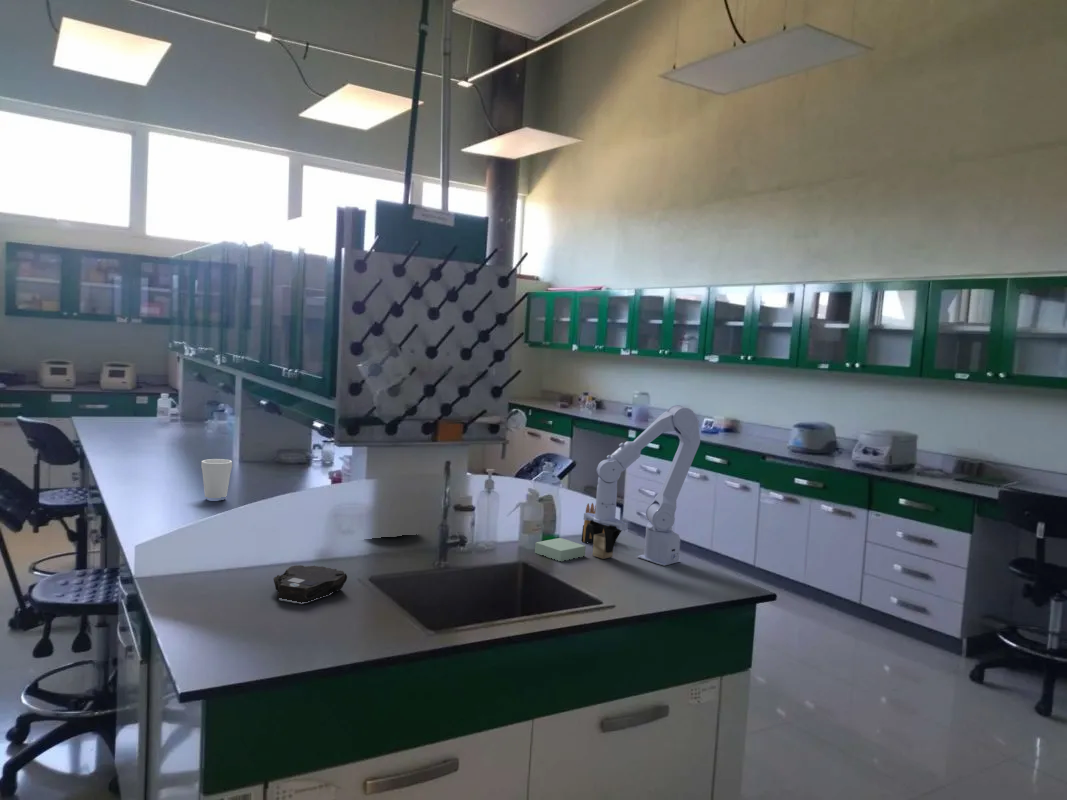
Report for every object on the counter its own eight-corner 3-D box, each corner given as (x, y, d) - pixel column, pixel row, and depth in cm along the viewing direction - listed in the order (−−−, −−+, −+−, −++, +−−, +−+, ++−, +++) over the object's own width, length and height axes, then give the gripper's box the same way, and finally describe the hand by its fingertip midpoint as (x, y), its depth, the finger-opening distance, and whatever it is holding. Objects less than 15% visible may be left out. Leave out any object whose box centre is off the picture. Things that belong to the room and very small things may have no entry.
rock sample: (270, 583, 177) (271, 562, 176) (339, 579, 183) (340, 559, 182) (276, 609, 161) (277, 586, 160) (351, 604, 167) (352, 582, 166)
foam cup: (236, 500, 257) (237, 461, 256) (212, 504, 249) (213, 464, 248) (219, 495, 262) (220, 458, 261) (194, 499, 254) (195, 460, 253)
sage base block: (584, 556, 215) (585, 545, 215) (560, 561, 208) (560, 550, 208) (559, 547, 222) (560, 537, 222) (534, 552, 216) (535, 542, 215)
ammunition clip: (585, 543, 229) (587, 504, 229) (581, 541, 231) (583, 502, 230) (611, 539, 236) (614, 501, 235) (607, 538, 237) (609, 500, 237)
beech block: (612, 556, 216) (613, 535, 215) (603, 558, 213) (604, 537, 213) (601, 553, 219) (603, 532, 218) (592, 555, 216) (593, 534, 215)
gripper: (577, 499, 217) (574, 545, 218) (616, 509, 207) (613, 558, 208) (594, 496, 222) (591, 542, 223) (633, 506, 212) (629, 554, 213)
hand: (602, 550), depth 216 cm, fingers closed on beech block, 4 cm apart
